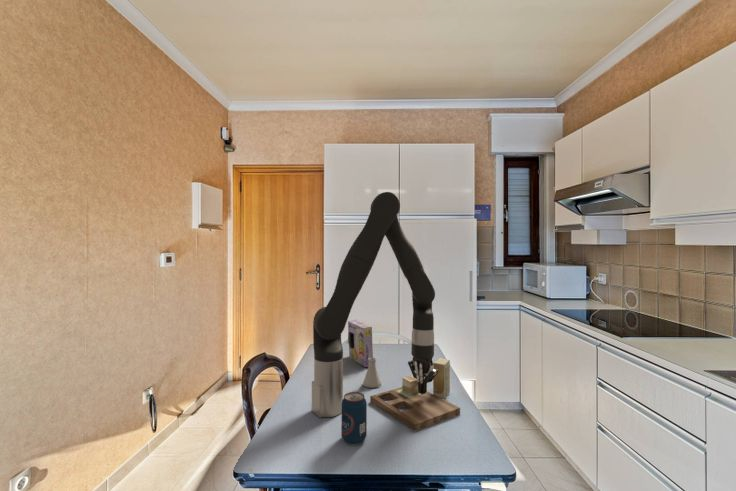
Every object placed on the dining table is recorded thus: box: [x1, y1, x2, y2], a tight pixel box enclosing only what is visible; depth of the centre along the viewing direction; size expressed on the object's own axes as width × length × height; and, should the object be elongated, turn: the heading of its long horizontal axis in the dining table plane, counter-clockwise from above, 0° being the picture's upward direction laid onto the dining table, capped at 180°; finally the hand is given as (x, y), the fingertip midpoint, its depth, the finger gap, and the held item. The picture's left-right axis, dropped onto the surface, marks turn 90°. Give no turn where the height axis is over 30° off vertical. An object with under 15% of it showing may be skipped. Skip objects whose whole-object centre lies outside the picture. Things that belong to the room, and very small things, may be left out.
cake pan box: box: [347, 319, 374, 368], centre depth 165 cm, size 19×5×18 cm, turn 25°
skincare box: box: [432, 357, 451, 400], centre depth 128 cm, size 6×4×12 cm
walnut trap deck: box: [369, 386, 461, 432], centre depth 118 cm, size 19×23×2 cm
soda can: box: [340, 391, 368, 446], centre depth 98 cm, size 7×7×12 cm
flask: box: [362, 357, 382, 389], centre depth 137 cm, size 7×7×10 cm
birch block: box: [401, 374, 418, 395], centre depth 126 cm, size 4×4×4 cm
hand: (422, 393), depth 120 cm, fingers closed
